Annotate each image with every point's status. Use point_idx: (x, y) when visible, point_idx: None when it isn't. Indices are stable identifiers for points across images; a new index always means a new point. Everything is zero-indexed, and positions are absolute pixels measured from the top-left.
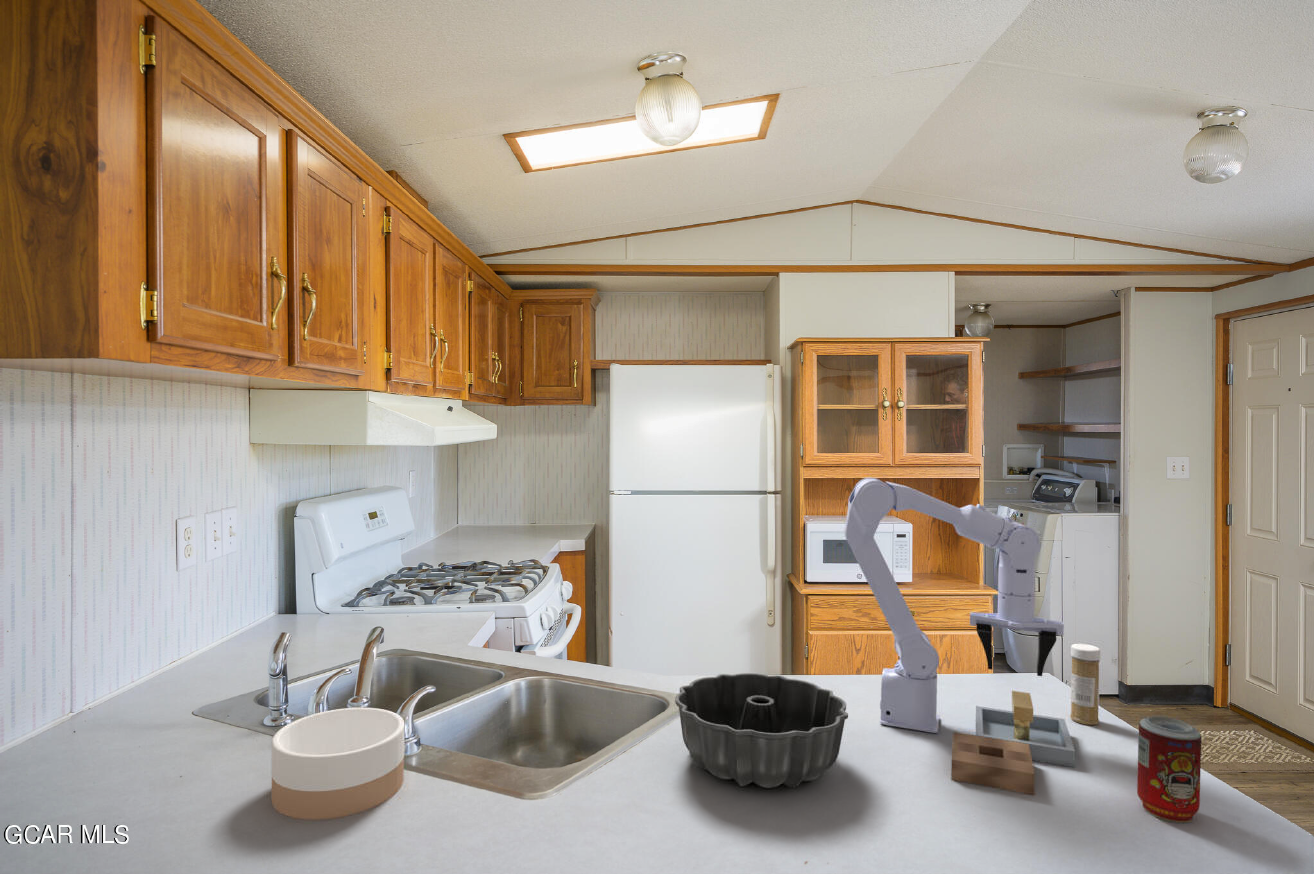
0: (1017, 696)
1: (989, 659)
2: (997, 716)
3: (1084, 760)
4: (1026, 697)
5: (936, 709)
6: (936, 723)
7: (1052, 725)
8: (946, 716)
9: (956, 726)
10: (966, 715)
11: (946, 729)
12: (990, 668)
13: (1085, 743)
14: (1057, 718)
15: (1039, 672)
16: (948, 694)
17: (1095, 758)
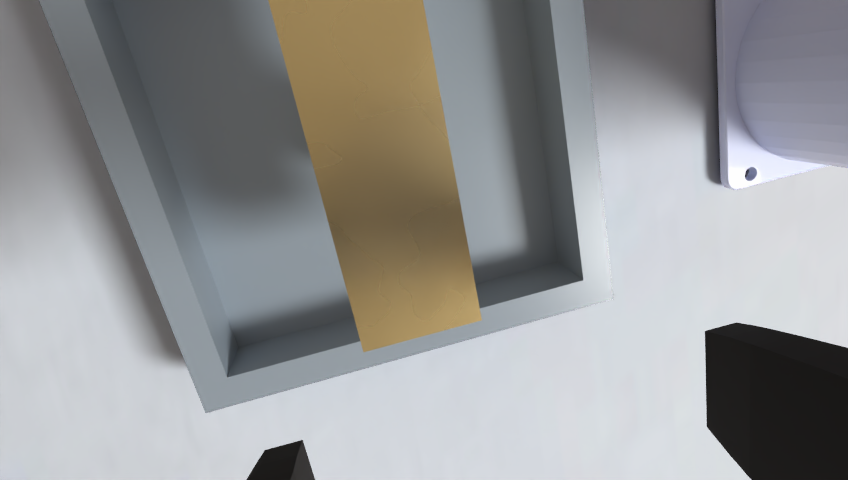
0: (427, 216)
1: (829, 354)
2: (504, 287)
3: (48, 89)
4: (366, 238)
5: (790, 78)
6: (733, 68)
7: (260, 354)
8: (691, 232)
9: (643, 139)
10: (618, 300)
11: (678, 70)
12: (727, 330)
13: (109, 319)
14: (236, 396)
15: (277, 462)
16: (702, 474)
17: (12, 154)
